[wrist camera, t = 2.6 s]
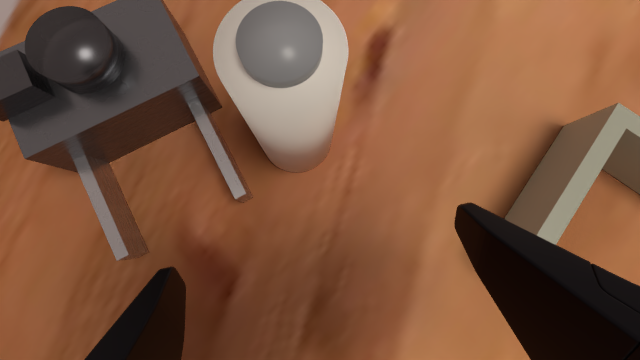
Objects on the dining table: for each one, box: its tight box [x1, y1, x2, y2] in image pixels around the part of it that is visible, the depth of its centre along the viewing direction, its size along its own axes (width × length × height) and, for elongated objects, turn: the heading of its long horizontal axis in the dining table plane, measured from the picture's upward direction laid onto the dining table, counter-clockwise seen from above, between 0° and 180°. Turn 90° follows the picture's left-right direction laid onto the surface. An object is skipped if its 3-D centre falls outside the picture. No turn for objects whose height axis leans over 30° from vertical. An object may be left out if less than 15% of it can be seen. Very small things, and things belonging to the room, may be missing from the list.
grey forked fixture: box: [0, 0, 253, 261], centre depth 21 cm, size 14×11×7 cm
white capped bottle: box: [213, 0, 348, 173], centre depth 18 cm, size 5×5×13 cm
